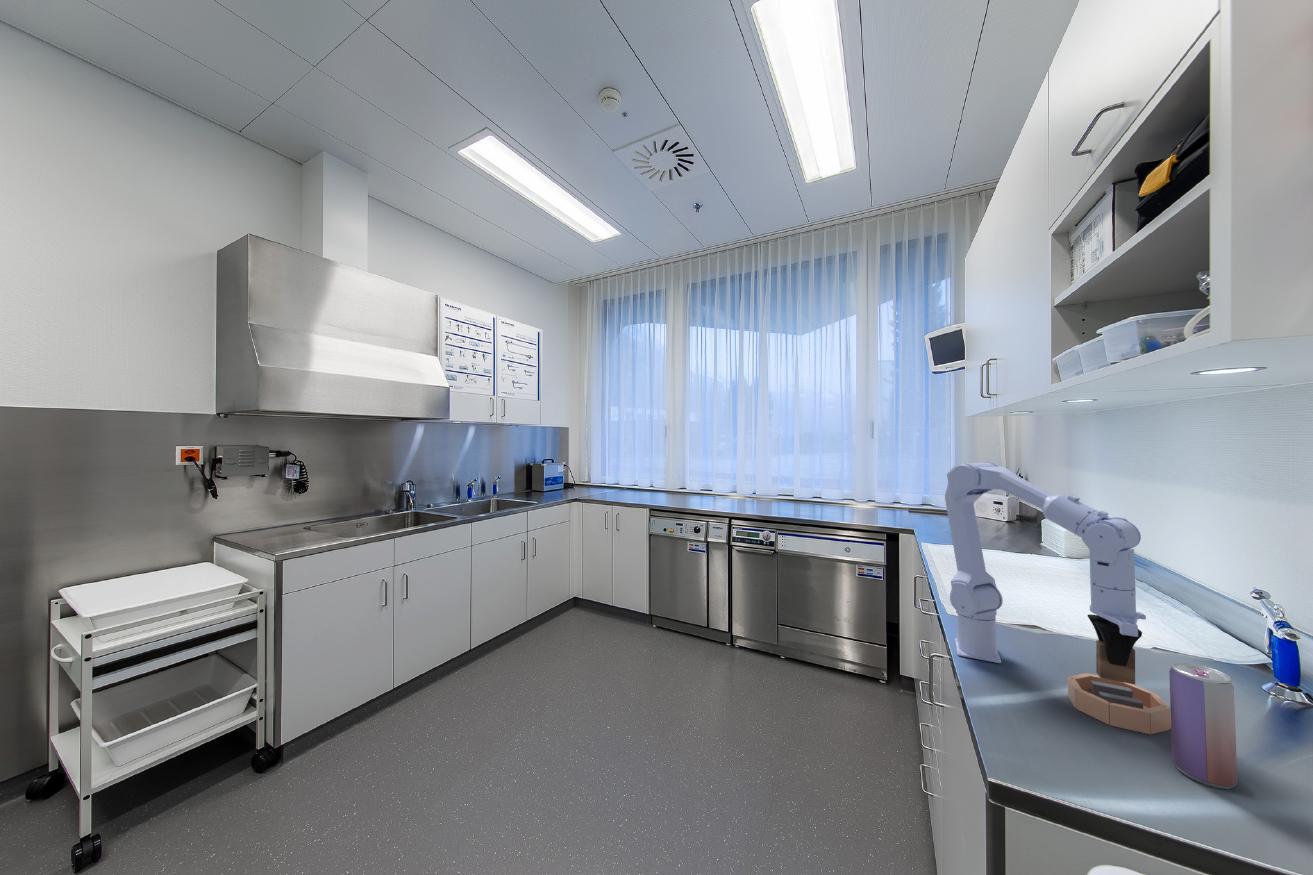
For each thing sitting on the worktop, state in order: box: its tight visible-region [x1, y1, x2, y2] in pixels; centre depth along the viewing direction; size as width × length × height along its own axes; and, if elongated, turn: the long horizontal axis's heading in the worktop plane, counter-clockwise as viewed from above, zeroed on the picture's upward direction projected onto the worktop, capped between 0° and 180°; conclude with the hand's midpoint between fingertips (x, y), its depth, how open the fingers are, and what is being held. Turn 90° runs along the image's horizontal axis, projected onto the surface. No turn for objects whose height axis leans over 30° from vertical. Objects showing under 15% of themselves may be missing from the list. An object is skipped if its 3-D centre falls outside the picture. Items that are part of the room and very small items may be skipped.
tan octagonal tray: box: [1066, 672, 1171, 735], centre depth 80 cm, size 12×12×4 cm
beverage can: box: [1168, 661, 1238, 790], centre depth 65 cm, size 6×6×15 cm
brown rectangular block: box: [1095, 639, 1136, 685], centre depth 80 cm, size 2×4×6 cm, turn 60°
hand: (1114, 661), depth 80 cm, fingers closed on brown rectangular block, 2 cm apart
